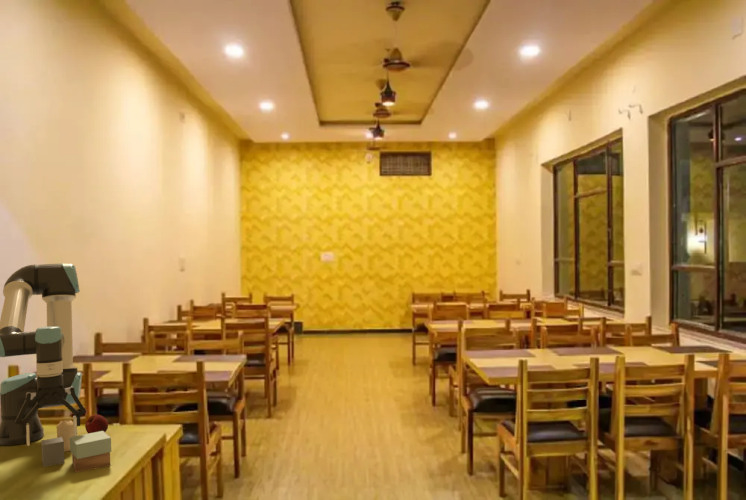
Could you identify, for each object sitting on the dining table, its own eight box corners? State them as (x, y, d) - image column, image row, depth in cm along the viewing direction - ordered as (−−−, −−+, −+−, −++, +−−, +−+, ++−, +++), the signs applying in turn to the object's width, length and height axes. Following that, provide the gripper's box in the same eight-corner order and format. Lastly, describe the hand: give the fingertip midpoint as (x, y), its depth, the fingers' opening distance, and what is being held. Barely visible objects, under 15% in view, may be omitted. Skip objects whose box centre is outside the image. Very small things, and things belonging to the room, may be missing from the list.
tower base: (72, 464, 198) (71, 450, 198) (106, 457, 203) (105, 444, 203) (75, 473, 189) (74, 458, 189) (110, 466, 195) (109, 452, 194)
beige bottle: (68, 452, 209) (67, 422, 209) (53, 451, 210) (52, 422, 210) (79, 447, 214) (77, 418, 214) (65, 446, 215) (64, 418, 215)
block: (42, 461, 200) (41, 440, 200) (62, 458, 203) (61, 436, 203) (43, 467, 195) (42, 445, 195) (64, 463, 198) (63, 441, 198)
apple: (82, 436, 227) (81, 414, 227) (104, 431, 232) (103, 410, 232) (89, 440, 221) (88, 418, 221) (111, 435, 226) (110, 414, 226)
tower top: (70, 451, 197) (69, 437, 197) (103, 444, 203) (102, 430, 203) (77, 459, 189) (76, 444, 189) (111, 451, 195) (110, 437, 195)
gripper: (5, 382, 189) (7, 451, 189) (93, 371, 202) (95, 435, 202) (4, 378, 196) (7, 445, 196) (90, 368, 209) (92, 430, 209)
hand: (52, 440), depth 199 cm, fingers open, 13 cm apart
